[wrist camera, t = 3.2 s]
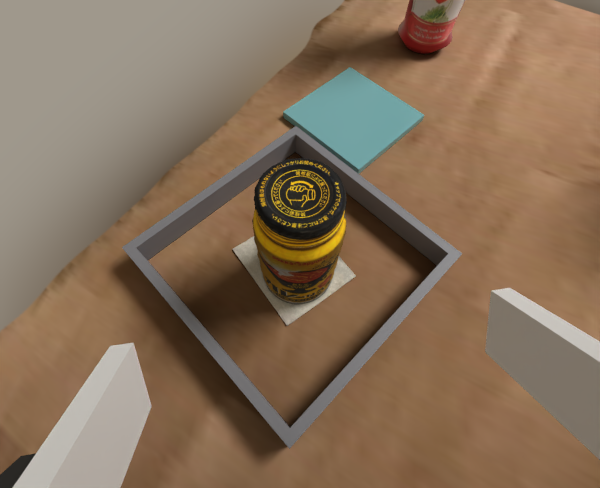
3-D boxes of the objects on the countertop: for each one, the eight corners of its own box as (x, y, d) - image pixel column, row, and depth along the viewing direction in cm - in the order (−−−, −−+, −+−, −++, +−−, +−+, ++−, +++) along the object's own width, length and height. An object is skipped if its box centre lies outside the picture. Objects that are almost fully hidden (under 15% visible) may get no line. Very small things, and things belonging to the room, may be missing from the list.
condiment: (287, 326, 27) (284, 269, 17) (232, 249, 30) (200, 159, 20) (355, 277, 30) (392, 198, 19) (298, 209, 32) (301, 108, 22)
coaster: (349, 73, 42) (350, 66, 41) (422, 120, 38) (424, 115, 37) (283, 117, 38) (283, 111, 37) (357, 174, 34) (359, 169, 34)
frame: (295, 143, 36) (295, 125, 34) (449, 265, 30) (462, 253, 28) (134, 260, 30) (121, 247, 27) (289, 445, 24) (289, 448, 21)
